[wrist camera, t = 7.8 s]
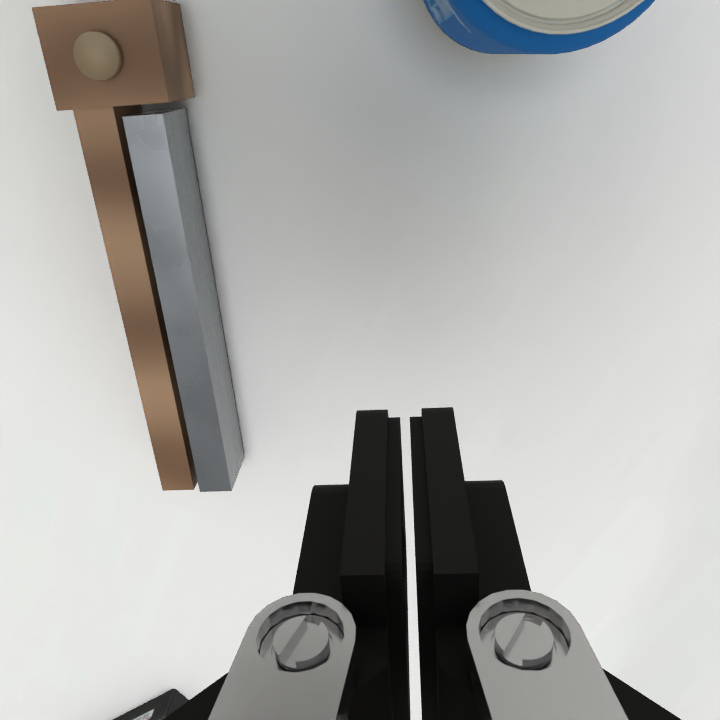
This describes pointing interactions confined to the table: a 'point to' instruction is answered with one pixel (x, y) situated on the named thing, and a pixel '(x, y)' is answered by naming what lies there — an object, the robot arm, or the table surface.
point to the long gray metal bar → (186, 290)
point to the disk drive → (156, 707)
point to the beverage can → (533, 23)
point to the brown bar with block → (126, 176)
